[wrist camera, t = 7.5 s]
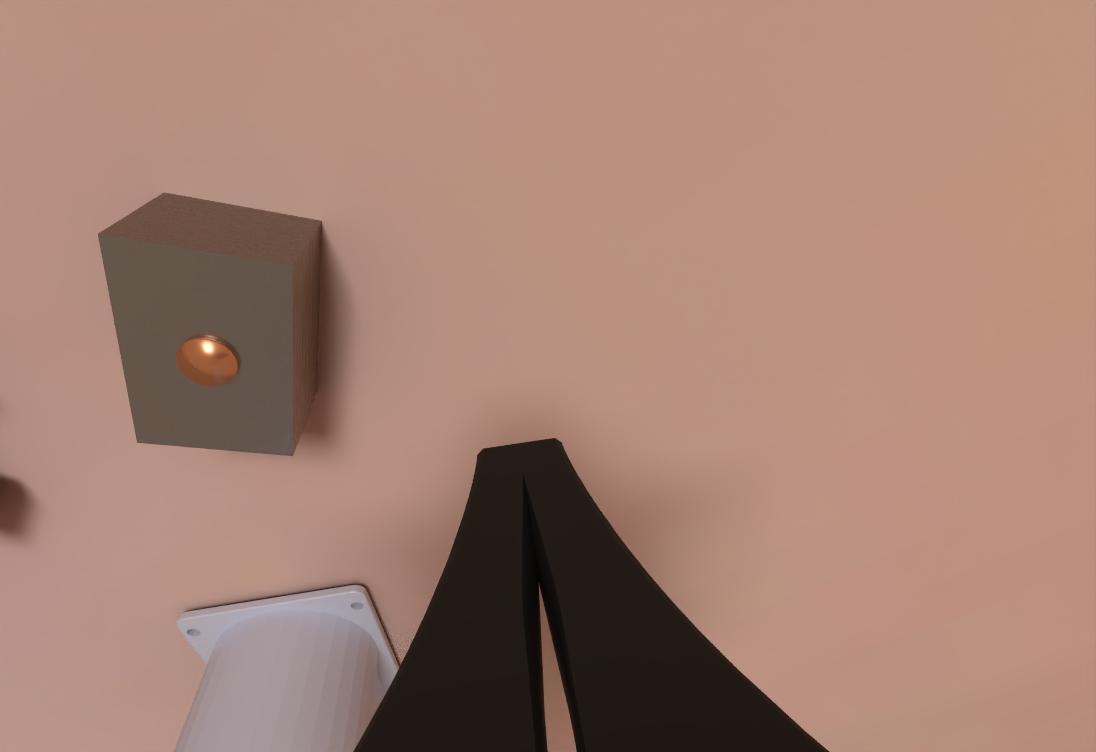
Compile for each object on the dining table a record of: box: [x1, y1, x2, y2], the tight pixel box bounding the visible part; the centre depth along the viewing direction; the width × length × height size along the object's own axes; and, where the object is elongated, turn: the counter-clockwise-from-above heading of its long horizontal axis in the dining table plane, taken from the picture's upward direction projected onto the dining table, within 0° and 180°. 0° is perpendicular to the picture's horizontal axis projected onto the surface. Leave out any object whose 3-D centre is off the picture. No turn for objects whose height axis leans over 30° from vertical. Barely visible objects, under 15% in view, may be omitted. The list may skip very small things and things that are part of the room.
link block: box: [98, 193, 321, 456], centre depth 16 cm, size 6×4×4 cm, turn 166°
